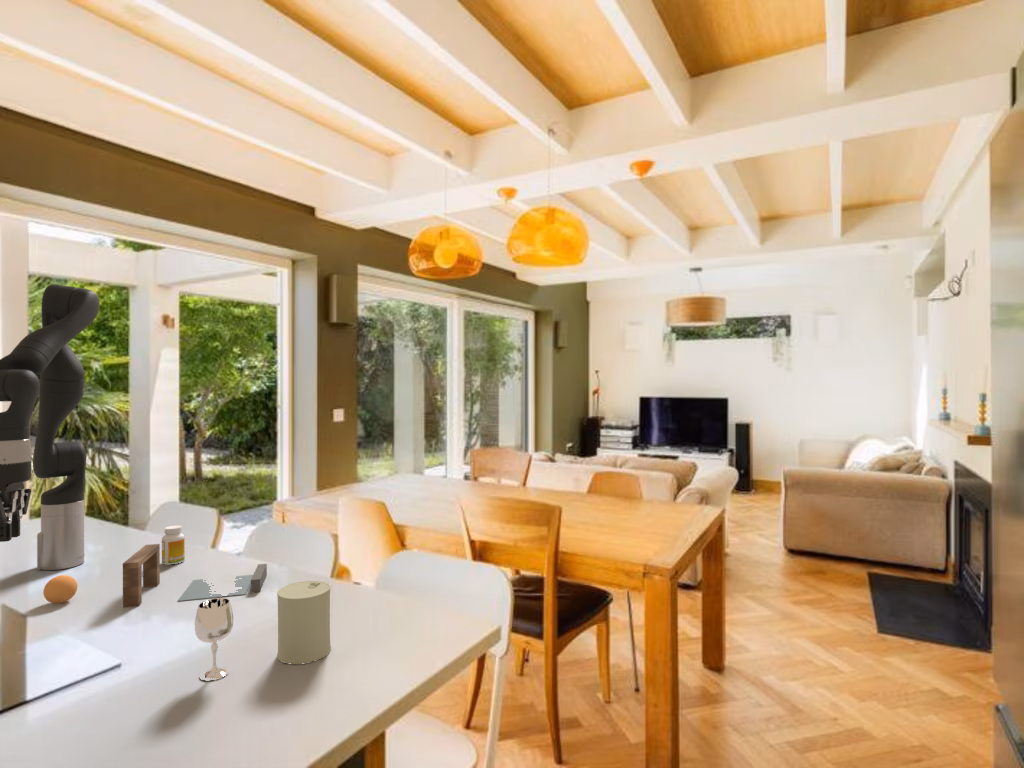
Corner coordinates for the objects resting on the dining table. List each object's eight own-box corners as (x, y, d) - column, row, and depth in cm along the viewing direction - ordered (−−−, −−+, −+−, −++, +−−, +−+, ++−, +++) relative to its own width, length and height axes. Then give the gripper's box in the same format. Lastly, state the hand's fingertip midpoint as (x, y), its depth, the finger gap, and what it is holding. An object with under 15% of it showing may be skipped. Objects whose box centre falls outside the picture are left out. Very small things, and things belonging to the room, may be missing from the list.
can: (341, 645, 106) (341, 581, 106) (308, 668, 97) (308, 598, 97) (300, 638, 109) (300, 575, 109) (265, 660, 100) (265, 592, 100)
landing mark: (177, 601, 128) (177, 600, 128) (193, 580, 141) (193, 580, 141) (245, 594, 132) (245, 593, 132) (254, 575, 145) (254, 574, 145)
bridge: (122, 607, 124) (122, 563, 124) (145, 584, 138) (145, 544, 138) (138, 606, 125) (138, 562, 125) (159, 583, 139) (159, 543, 139)
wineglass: (194, 687, 92) (194, 612, 92) (195, 671, 97) (195, 600, 97) (234, 678, 94) (233, 606, 94) (233, 663, 99) (232, 594, 99)
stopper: (250, 592, 133) (250, 580, 133) (258, 576, 144) (258, 564, 144) (260, 591, 133) (260, 579, 133) (266, 575, 145) (266, 563, 145)
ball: (37, 609, 123) (37, 581, 123) (51, 599, 129) (51, 572, 129) (70, 606, 125) (70, 578, 125) (82, 596, 131) (82, 570, 131)
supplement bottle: (189, 559, 158) (188, 524, 158) (175, 565, 153) (175, 529, 153) (171, 559, 159) (170, 524, 159) (157, 565, 153) (156, 529, 153)
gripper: (11, 463, 119) (11, 546, 119) (45, 455, 132) (45, 529, 132) (-33, 465, 117) (-33, 549, 117) (6, 457, 130) (6, 532, 130)
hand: (9, 538), depth 124 cm, fingers open, 3 cm apart
